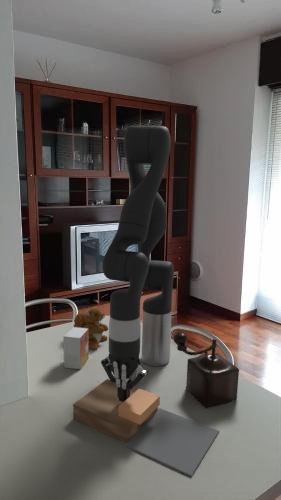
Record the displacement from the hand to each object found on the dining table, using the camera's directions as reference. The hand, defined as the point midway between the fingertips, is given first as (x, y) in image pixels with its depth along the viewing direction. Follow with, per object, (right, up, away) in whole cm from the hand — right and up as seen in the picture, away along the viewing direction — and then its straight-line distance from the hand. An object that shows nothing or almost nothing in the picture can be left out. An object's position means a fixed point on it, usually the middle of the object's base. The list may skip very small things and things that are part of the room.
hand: (123, 400), depth 91 cm
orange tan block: (+4, -2, -2) cm, 5 cm away
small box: (-16, 0, +28) cm, 32 cm away
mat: (+12, -7, -6) cm, 15 cm away
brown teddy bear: (-15, +3, +44) cm, 46 cm away
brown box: (-2, -5, +2) cm, 6 cm away
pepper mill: (+21, -4, +11) cm, 24 cm away
